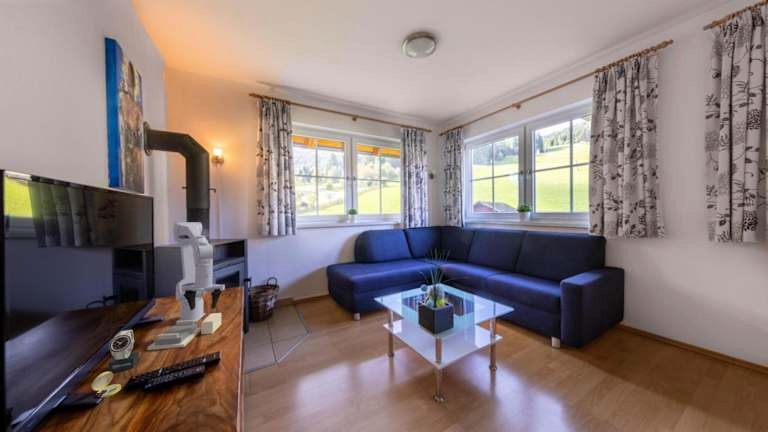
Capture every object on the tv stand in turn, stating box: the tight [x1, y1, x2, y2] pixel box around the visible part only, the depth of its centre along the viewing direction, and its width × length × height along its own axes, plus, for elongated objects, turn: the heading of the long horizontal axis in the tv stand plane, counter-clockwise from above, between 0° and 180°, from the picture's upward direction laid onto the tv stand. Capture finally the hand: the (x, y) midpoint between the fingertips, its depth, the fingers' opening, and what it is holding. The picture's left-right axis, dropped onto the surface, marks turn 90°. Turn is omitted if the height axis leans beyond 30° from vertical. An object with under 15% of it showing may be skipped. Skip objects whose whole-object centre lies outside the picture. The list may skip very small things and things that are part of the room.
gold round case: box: [90, 371, 122, 398], centre depth 69 cm, size 4×5×5 cm
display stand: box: [147, 320, 201, 351], centre depth 97 cm, size 14×11×4 cm
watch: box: [107, 329, 140, 374], centre depth 79 cm, size 6×8×11 cm
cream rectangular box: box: [200, 312, 222, 335], centre depth 106 cm, size 9×4×5 cm, turn 13°
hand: (203, 308), depth 103 cm, fingers open, 7 cm apart
